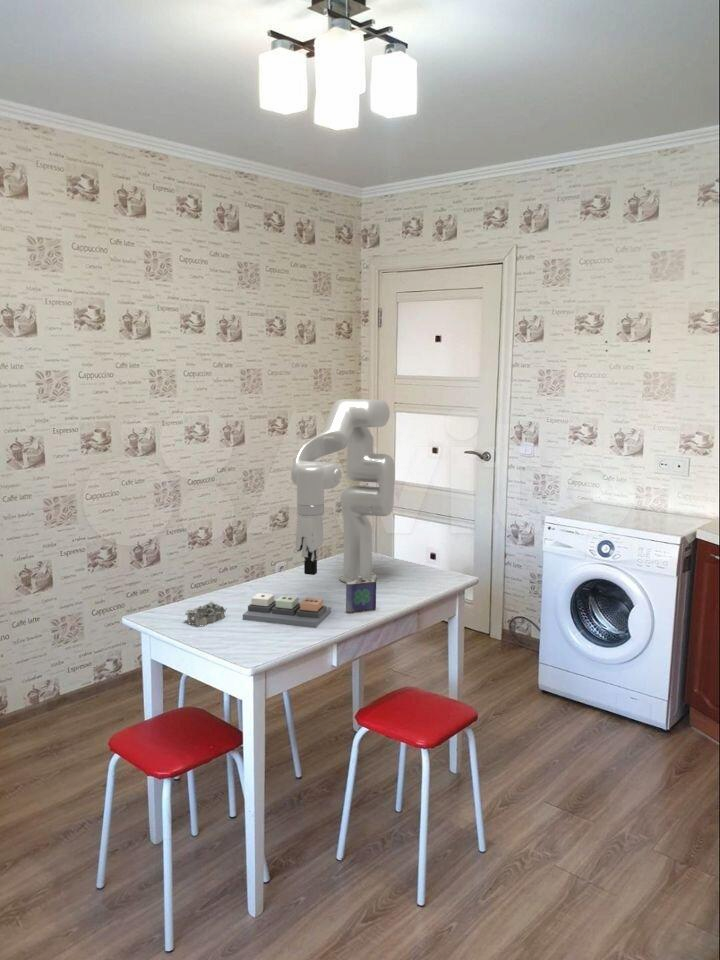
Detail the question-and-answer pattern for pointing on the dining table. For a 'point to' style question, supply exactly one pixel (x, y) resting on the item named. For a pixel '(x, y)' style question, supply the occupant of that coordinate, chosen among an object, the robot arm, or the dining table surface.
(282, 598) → the tile
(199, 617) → the egg carton
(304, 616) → the keypad board
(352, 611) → the flask
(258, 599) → the tile
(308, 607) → the tile
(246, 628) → the dining table surface
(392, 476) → the robot arm
